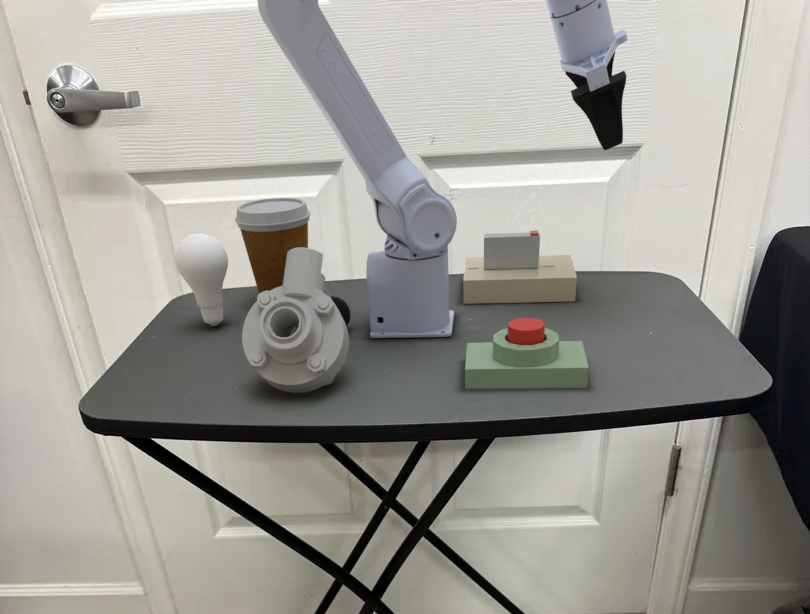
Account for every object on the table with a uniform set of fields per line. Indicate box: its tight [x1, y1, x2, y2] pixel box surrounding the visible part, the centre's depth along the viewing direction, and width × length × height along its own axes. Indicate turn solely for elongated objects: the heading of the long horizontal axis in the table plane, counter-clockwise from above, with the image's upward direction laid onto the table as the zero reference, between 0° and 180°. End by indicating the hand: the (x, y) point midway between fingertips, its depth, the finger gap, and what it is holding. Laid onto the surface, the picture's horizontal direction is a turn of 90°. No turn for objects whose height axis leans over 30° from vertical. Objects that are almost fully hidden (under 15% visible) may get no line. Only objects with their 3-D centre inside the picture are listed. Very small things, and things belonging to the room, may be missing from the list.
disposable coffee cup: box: [234, 197, 311, 294], centre depth 100 cm, size 10×10×12 cm
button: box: [507, 317, 546, 345], centre depth 77 cm, size 4×4×2 cm
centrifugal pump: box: [241, 247, 351, 394], centre depth 83 cm, size 10×20×15 cm
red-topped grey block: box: [483, 230, 541, 270], centre depth 99 cm, size 7×2×4 cm, turn 85°
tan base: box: [462, 254, 578, 305], centre depth 101 cm, size 14×11×3 cm
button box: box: [464, 327, 590, 390], centre depth 78 cm, size 12×7×4 cm, turn 85°
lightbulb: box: [174, 232, 229, 327], centre depth 94 cm, size 6×6×11 cm
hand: (608, 134), depth 88 cm, fingers open, 7 cm apart
